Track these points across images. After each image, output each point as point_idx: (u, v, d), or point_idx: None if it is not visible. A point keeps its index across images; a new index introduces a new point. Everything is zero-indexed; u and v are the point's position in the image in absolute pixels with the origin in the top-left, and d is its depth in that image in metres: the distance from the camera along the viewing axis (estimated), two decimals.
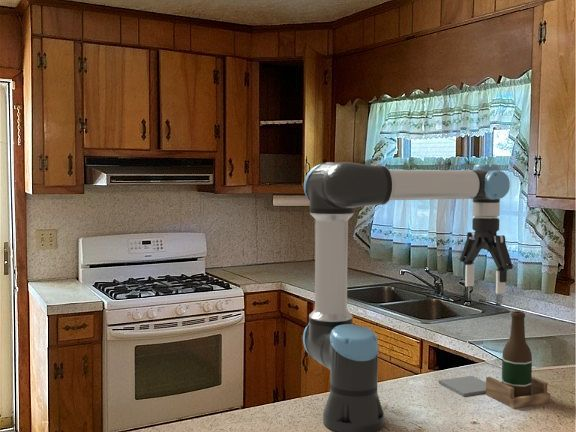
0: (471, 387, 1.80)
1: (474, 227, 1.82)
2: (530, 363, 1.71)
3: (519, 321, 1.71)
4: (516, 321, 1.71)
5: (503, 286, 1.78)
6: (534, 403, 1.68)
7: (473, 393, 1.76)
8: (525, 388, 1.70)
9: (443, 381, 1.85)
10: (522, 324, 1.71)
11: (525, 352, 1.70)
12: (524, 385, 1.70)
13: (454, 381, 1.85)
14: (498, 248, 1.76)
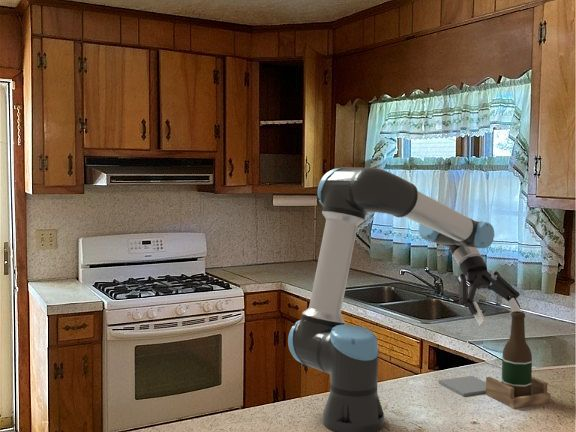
0: (471, 387, 1.80)
1: (479, 262, 1.88)
2: (530, 363, 1.71)
3: (519, 321, 1.71)
4: (516, 321, 1.71)
5: None
6: (534, 403, 1.68)
7: (473, 393, 1.76)
8: (525, 388, 1.70)
9: (443, 381, 1.85)
10: (522, 324, 1.71)
11: (525, 352, 1.70)
12: (524, 385, 1.70)
13: (454, 381, 1.85)
14: (503, 280, 1.90)
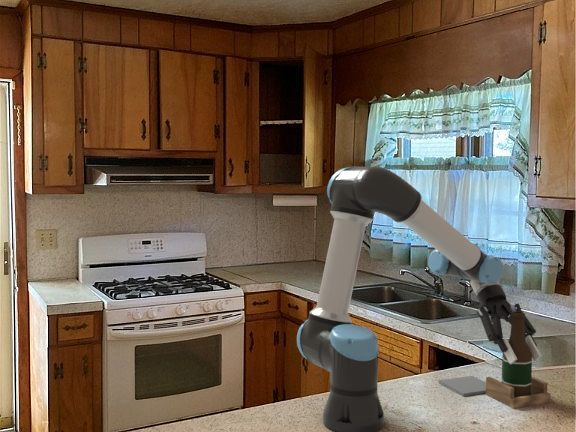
0: (471, 387, 1.80)
1: (497, 291, 1.79)
2: (530, 363, 1.71)
3: (519, 321, 1.71)
4: (516, 321, 1.71)
5: None
6: (534, 403, 1.68)
7: (473, 393, 1.76)
8: (525, 388, 1.70)
9: (443, 381, 1.85)
10: (522, 324, 1.71)
11: (525, 352, 1.70)
12: (524, 385, 1.70)
13: (454, 381, 1.85)
14: None
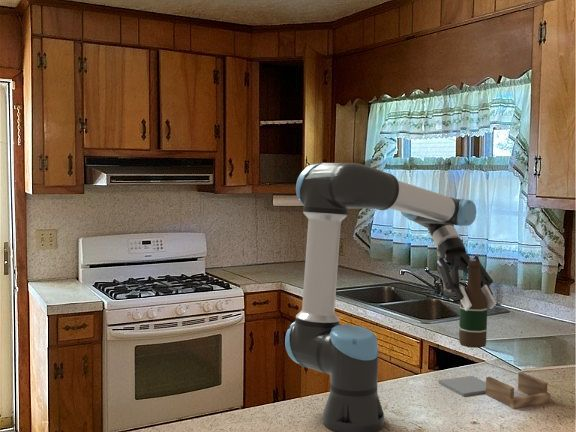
0: (471, 387, 1.80)
1: (457, 243, 1.87)
2: (485, 310, 1.78)
3: (475, 270, 1.78)
4: (472, 270, 1.78)
5: None
6: (534, 403, 1.68)
7: (473, 393, 1.76)
8: (480, 334, 1.77)
9: (443, 381, 1.85)
10: (478, 273, 1.78)
11: (480, 299, 1.77)
12: (479, 331, 1.77)
13: (454, 381, 1.85)
14: (481, 265, 1.86)
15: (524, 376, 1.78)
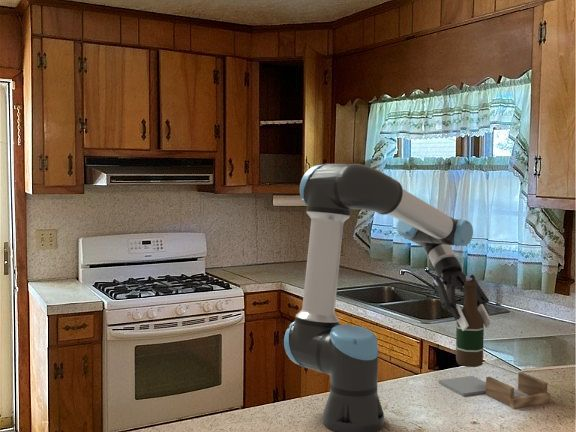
0: (471, 387, 1.80)
1: (453, 263, 1.88)
2: (482, 330, 1.80)
3: (471, 290, 1.80)
4: (468, 290, 1.80)
5: None
6: (534, 403, 1.68)
7: (473, 393, 1.76)
8: (477, 353, 1.79)
9: (443, 381, 1.85)
10: (474, 293, 1.80)
11: (476, 319, 1.78)
12: (476, 350, 1.79)
13: (454, 381, 1.85)
14: (477, 284, 1.88)
15: (524, 376, 1.78)
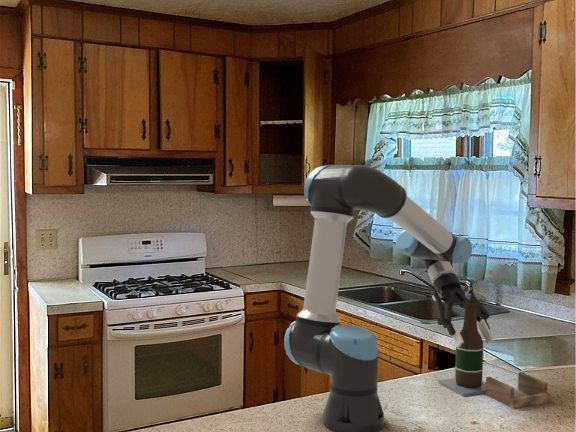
0: None
1: (452, 279, 1.88)
2: (481, 351, 1.80)
3: (471, 310, 1.80)
4: (468, 310, 1.80)
5: None
6: (534, 403, 1.68)
7: (473, 393, 1.76)
8: (476, 374, 1.79)
9: (443, 381, 1.85)
10: (474, 313, 1.80)
11: (476, 340, 1.79)
12: (475, 371, 1.79)
13: (454, 381, 1.85)
14: (476, 300, 1.88)
15: (524, 376, 1.78)
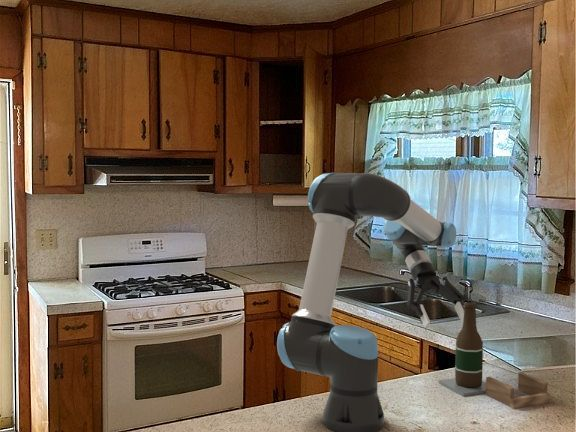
0: None
1: (427, 268, 2.00)
2: (481, 351, 1.80)
3: (470, 311, 1.80)
4: (468, 311, 1.80)
5: None
6: (534, 403, 1.68)
7: (473, 393, 1.76)
8: (476, 374, 1.79)
9: (443, 381, 1.85)
10: (473, 314, 1.80)
11: (475, 340, 1.79)
12: (475, 372, 1.79)
13: (454, 381, 1.85)
14: (451, 285, 2.01)
15: (524, 376, 1.78)
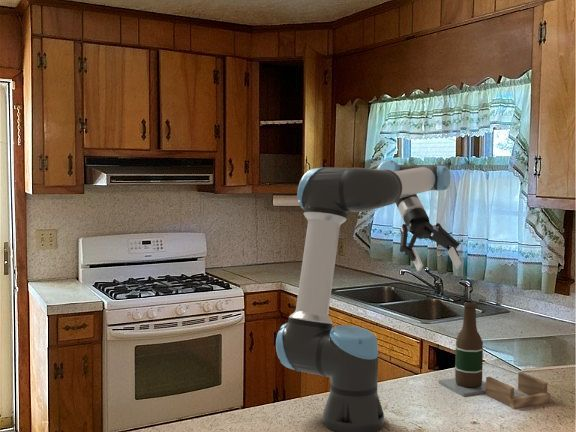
0: None
1: (420, 213, 1.98)
2: (481, 351, 1.80)
3: (470, 311, 1.80)
4: (468, 311, 1.80)
5: None
6: (534, 403, 1.68)
7: (473, 393, 1.76)
8: (476, 374, 1.79)
9: (443, 381, 1.85)
10: (473, 314, 1.80)
11: (476, 340, 1.79)
12: (475, 372, 1.79)
13: (454, 381, 1.85)
14: (444, 231, 1.99)
15: (524, 376, 1.78)
